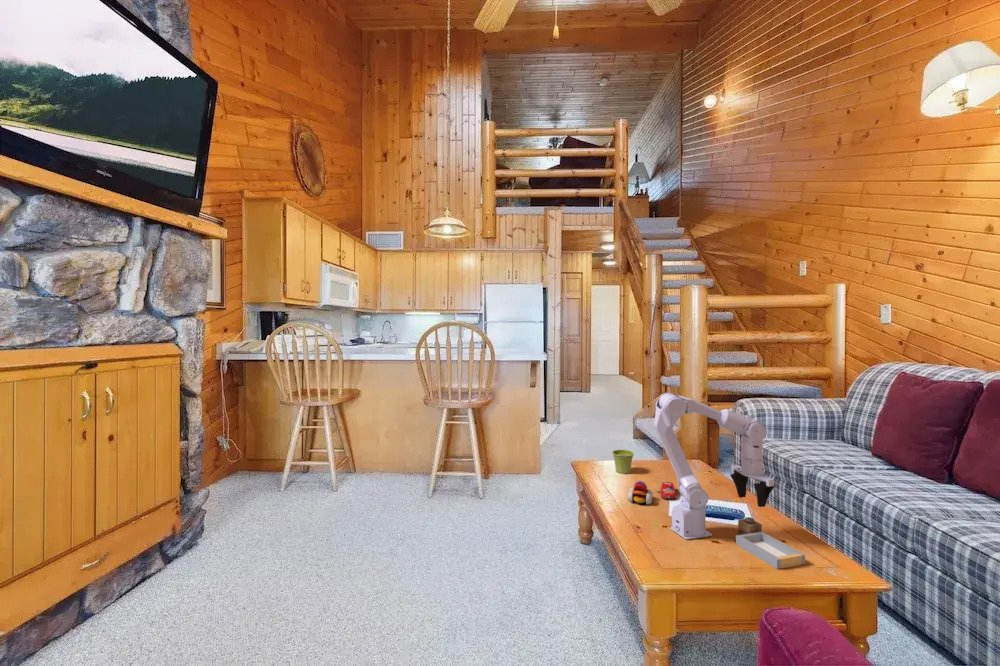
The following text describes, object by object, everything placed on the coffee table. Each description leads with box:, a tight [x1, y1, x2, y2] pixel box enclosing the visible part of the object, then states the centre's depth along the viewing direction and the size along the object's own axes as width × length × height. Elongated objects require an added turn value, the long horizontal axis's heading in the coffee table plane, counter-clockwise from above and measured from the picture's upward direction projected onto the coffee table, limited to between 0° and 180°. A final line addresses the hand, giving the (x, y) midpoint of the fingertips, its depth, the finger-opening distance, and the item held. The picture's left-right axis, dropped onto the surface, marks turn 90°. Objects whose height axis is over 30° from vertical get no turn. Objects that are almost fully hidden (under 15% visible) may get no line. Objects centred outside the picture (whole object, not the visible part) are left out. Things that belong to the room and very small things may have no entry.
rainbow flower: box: [627, 480, 654, 506], centre depth 167 cm, size 8×10×7 cm
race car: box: [660, 481, 677, 501], centre depth 174 cm, size 13×5×4 cm, turn 161°
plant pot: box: [611, 449, 635, 475], centre depth 200 cm, size 9×9×9 cm
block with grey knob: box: [737, 516, 763, 535], centre depth 139 cm, size 4×4×6 cm
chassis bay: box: [735, 531, 806, 570], centre depth 128 cm, size 9×14×2 cm, turn 15°
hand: (751, 501), depth 140 cm, fingers open, 7 cm apart
